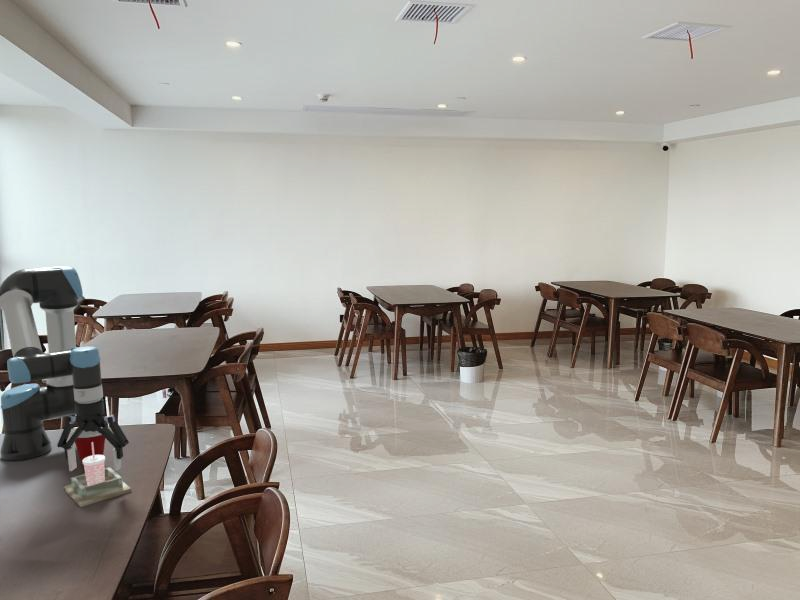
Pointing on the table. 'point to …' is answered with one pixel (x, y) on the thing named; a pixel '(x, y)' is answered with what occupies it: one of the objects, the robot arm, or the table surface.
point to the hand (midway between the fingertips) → (95, 469)
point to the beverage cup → (94, 468)
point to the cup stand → (96, 488)
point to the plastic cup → (89, 444)
